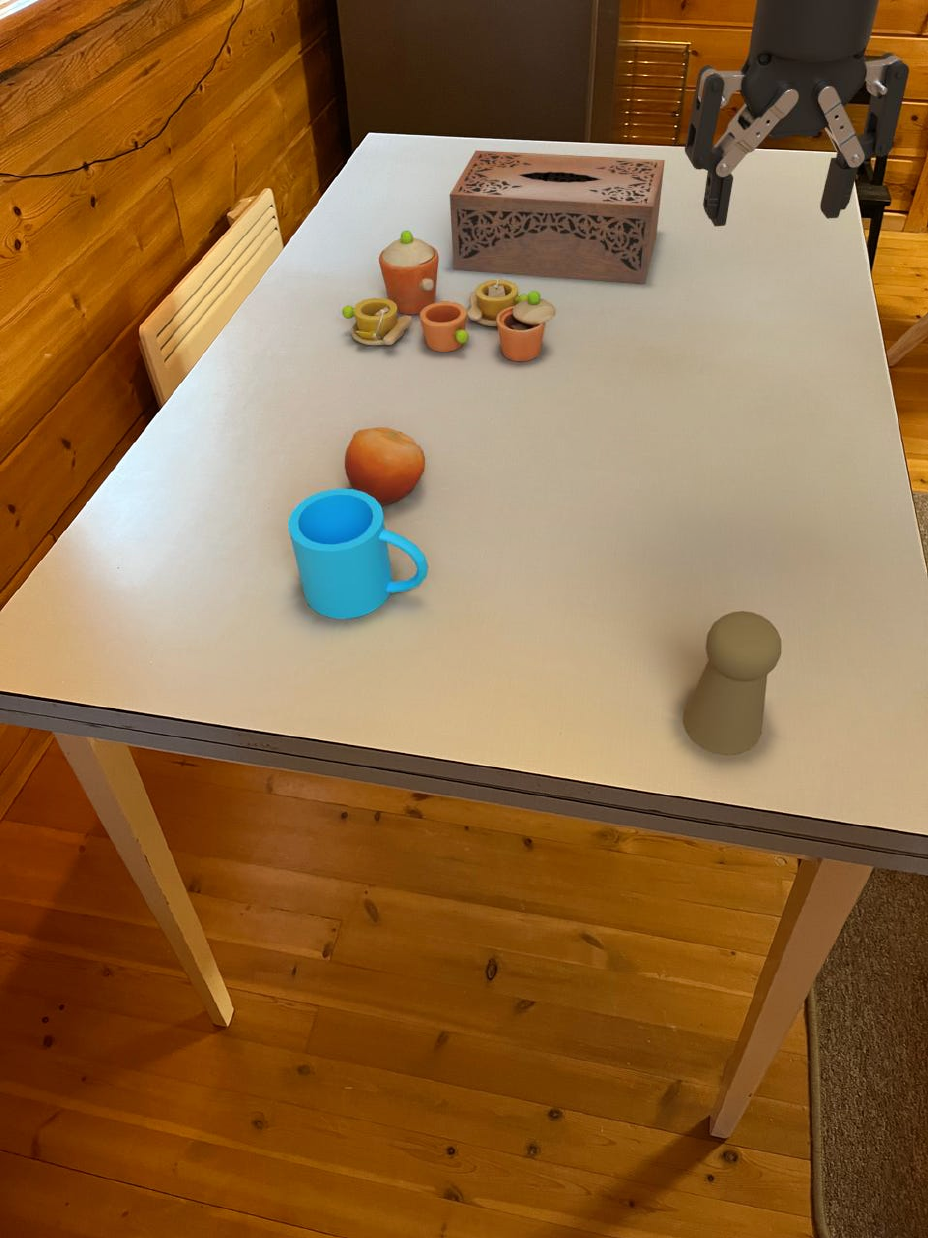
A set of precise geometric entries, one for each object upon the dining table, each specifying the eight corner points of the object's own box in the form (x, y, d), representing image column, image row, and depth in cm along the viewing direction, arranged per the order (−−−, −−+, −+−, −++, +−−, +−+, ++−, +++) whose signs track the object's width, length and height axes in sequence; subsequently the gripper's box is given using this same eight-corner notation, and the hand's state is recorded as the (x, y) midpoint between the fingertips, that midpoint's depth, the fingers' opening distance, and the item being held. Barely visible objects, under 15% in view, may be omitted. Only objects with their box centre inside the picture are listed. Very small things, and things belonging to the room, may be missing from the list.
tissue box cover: (453, 269, 126) (449, 194, 118) (478, 222, 135) (475, 150, 128) (645, 283, 121) (653, 206, 113) (656, 234, 130) (664, 159, 123)
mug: (290, 610, 83) (272, 543, 77) (323, 550, 89) (308, 482, 83) (417, 632, 81) (409, 565, 75) (443, 569, 86) (437, 501, 80)
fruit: (315, 489, 92) (337, 413, 89) (371, 489, 99) (393, 418, 95) (369, 526, 88) (394, 447, 85) (423, 523, 94) (448, 450, 91)
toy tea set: (335, 346, 113) (323, 271, 106) (381, 286, 123) (372, 213, 116) (542, 375, 107) (544, 297, 100) (573, 308, 117) (576, 233, 110)
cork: (680, 691, 75) (699, 597, 67) (756, 694, 75) (785, 599, 67) (686, 753, 71) (708, 661, 63) (767, 756, 71) (799, 664, 62)
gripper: (728, -16, 55) (691, 247, 67) (963, -33, 56) (885, 233, 68) (697, -46, 61) (668, 203, 72) (913, -61, 61) (848, 190, 73)
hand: (773, 217), depth 70 cm, fingers open, 8 cm apart
